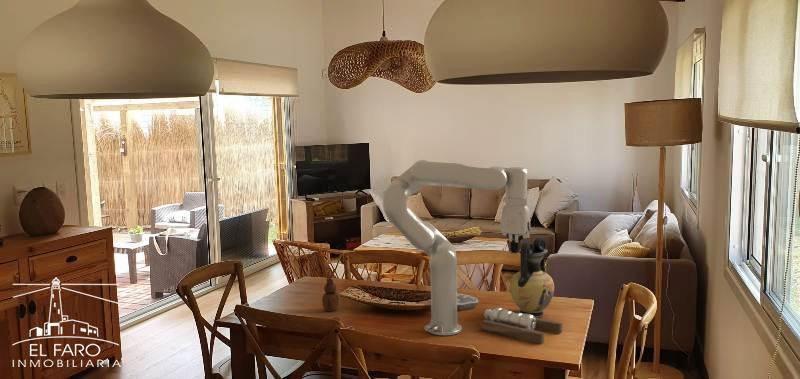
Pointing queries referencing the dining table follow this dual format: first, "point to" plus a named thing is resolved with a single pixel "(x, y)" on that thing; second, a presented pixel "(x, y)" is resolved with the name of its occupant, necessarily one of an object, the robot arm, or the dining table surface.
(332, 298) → the wooden figurine
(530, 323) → the plastic bottle
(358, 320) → the dining table surface
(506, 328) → the u rest
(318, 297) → the dining table surface
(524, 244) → the amphora
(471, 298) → the brain slice
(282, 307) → the dining table surface
